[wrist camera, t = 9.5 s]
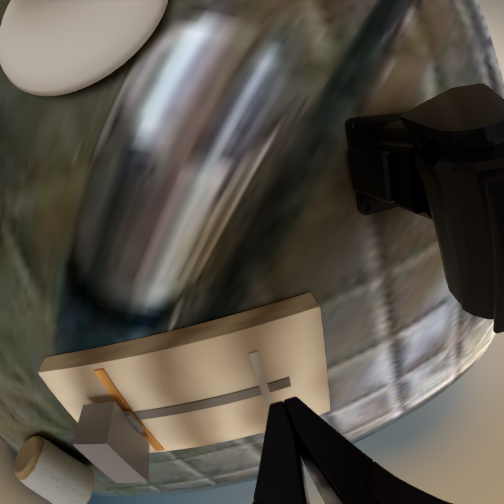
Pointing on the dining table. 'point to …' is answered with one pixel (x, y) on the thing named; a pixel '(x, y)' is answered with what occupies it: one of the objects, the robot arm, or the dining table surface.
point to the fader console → (203, 375)
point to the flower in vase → (72, 41)
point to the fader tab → (113, 442)
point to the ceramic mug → (53, 473)
